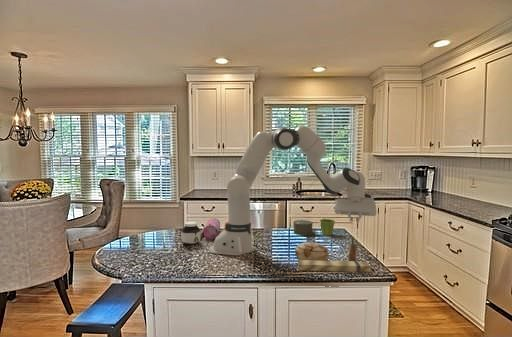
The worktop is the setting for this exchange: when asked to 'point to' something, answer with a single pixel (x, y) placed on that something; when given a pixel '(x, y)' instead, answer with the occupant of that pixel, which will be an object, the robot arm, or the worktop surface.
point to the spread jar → (190, 233)
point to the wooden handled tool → (352, 251)
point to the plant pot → (327, 226)
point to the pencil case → (211, 228)
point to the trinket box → (311, 252)
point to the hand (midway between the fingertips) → (354, 221)
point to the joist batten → (334, 266)
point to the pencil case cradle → (203, 234)
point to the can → (303, 227)
